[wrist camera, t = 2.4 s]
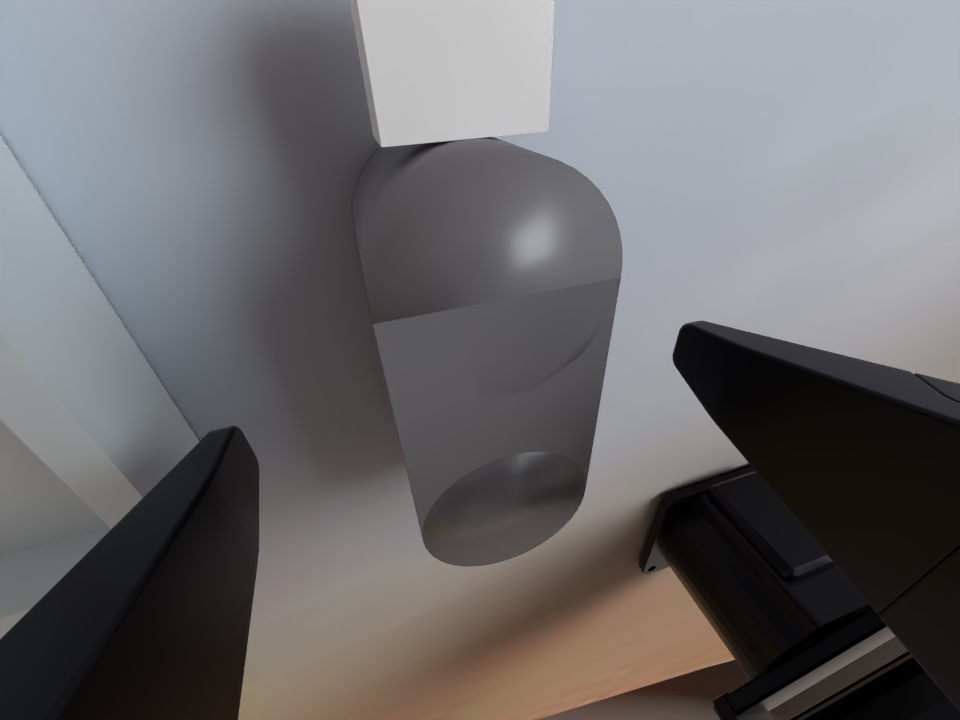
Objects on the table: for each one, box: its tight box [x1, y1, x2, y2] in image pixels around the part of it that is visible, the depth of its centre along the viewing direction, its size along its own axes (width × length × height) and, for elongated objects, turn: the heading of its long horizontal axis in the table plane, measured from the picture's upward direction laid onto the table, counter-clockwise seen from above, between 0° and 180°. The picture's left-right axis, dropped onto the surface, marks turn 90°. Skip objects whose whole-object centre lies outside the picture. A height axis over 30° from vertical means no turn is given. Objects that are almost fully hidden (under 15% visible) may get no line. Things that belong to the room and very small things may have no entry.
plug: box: [349, 0, 622, 566], centre depth 8 cm, size 11×4×4 cm, turn 2°
